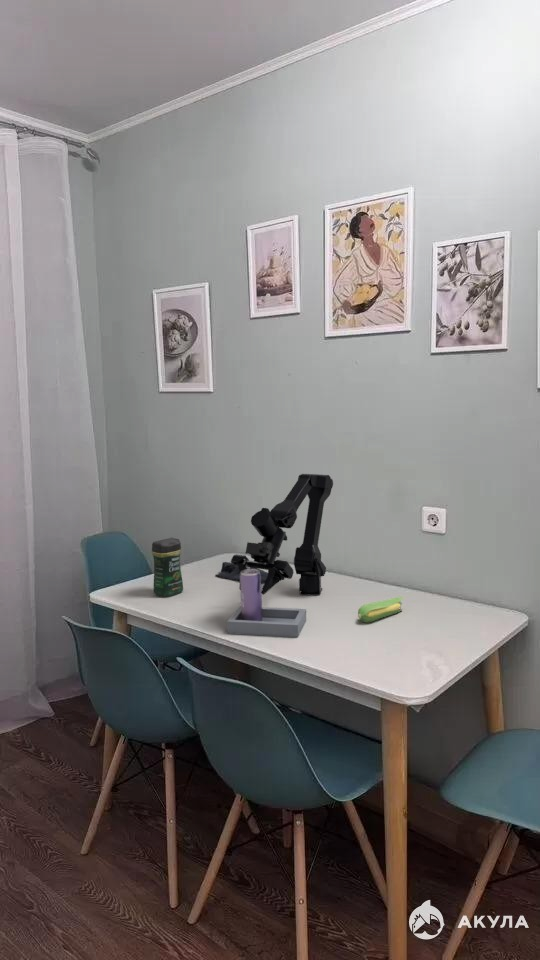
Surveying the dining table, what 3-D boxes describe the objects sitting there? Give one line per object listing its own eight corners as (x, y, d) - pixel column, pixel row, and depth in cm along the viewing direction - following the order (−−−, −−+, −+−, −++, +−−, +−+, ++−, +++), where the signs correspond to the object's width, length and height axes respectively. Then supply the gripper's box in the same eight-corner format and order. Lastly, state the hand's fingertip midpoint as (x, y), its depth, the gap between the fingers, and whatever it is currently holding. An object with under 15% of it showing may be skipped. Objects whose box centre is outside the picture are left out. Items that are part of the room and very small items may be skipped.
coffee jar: (165, 599, 226) (162, 543, 224) (150, 594, 232) (146, 540, 229) (187, 591, 234) (184, 537, 231) (172, 587, 239) (169, 534, 236)
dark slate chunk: (253, 589, 236) (252, 575, 235) (211, 577, 251) (211, 564, 251) (284, 579, 246) (284, 566, 245) (243, 567, 262) (242, 555, 261)
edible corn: (351, 607, 201) (362, 606, 197) (399, 594, 213) (410, 593, 209) (355, 625, 200) (365, 624, 197) (402, 611, 212) (413, 610, 209)
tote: (306, 620, 203) (306, 609, 202) (298, 637, 190) (297, 625, 190) (240, 617, 208) (239, 606, 207) (228, 633, 195) (227, 621, 194)
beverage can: (265, 624, 198) (263, 573, 196) (245, 627, 197) (242, 575, 194) (259, 617, 204) (257, 567, 202) (239, 620, 202) (237, 570, 200)
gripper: (232, 527, 205) (212, 573, 197) (287, 533, 195) (267, 582, 188) (248, 547, 213) (229, 592, 205) (301, 554, 203) (283, 601, 195)
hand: (251, 592), depth 198 cm, fingers open, 7 cm apart
